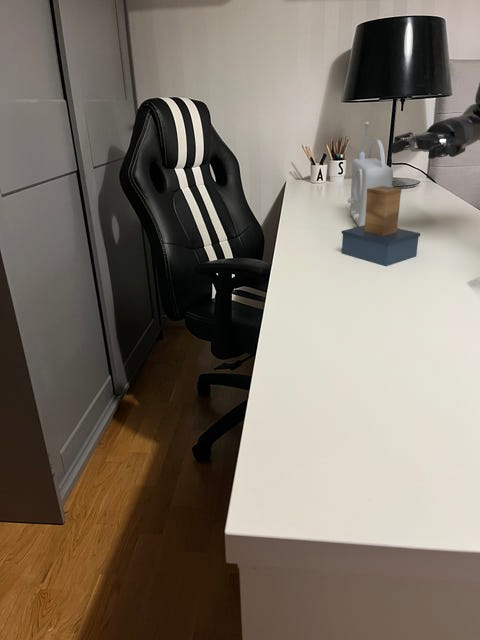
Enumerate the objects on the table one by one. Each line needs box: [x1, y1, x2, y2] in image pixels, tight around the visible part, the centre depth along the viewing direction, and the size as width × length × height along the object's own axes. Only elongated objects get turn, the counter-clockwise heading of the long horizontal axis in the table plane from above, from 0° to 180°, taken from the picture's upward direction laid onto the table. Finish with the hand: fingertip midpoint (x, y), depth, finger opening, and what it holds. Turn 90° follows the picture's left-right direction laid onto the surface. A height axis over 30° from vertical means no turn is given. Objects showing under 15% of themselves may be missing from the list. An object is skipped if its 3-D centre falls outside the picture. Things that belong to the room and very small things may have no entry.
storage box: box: [341, 225, 421, 267], centre depth 107 cm, size 12×10×5 cm
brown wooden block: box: [364, 186, 402, 236], centre depth 104 cm, size 5×5×9 cm
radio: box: [347, 121, 394, 227], centre depth 129 cm, size 22×8×25 cm, turn 177°
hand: (411, 151), depth 104 cm, fingers open, 8 cm apart
